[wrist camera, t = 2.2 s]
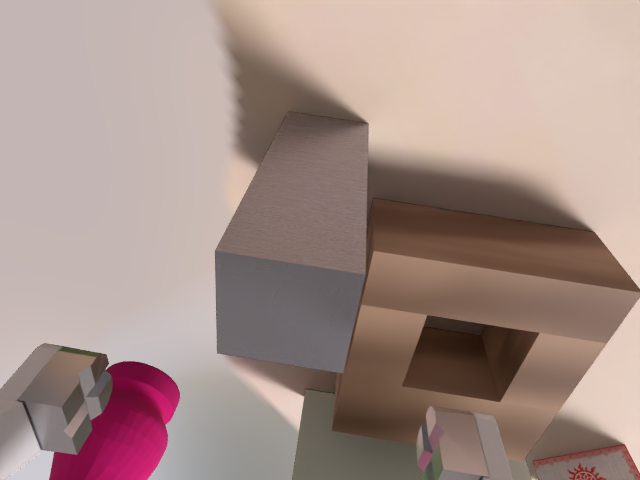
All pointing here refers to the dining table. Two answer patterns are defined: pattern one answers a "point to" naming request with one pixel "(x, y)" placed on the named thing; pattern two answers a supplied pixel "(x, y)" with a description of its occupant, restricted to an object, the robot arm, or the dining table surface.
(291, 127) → the peg
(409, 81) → the dining table surface
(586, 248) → the socket
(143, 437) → the pepper mill
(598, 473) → the tea bag
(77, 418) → the robot arm
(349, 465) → the pale green stepped block
